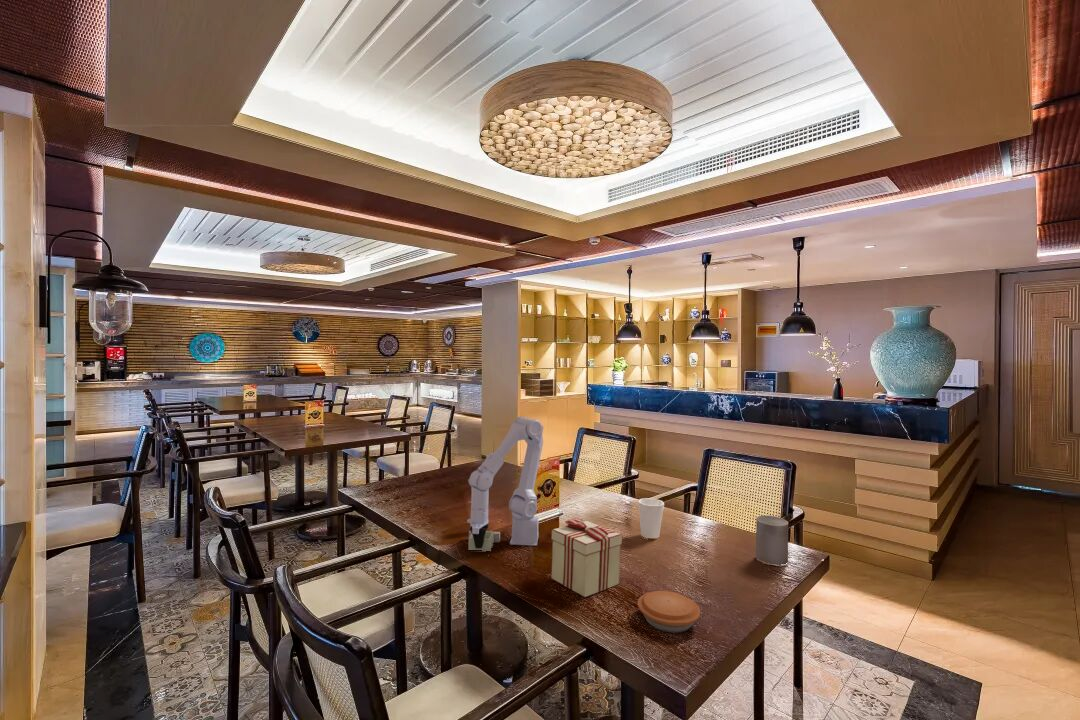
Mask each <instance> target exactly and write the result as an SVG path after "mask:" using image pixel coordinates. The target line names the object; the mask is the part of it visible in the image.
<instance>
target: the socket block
mask: <svg viewBox="0 0 1080 720" xmlns="http://www.w3.org/2000/svg"><path fill="white" fill-rule="evenodd" d="M487 531H488V530H486V533H485V537H484V542H483V546H482V548H475V543H474V538H473V535H472V534H471V535H470V537H469V536H468V546H467V547H468V550H482V551H481V552H486V551H490V552H491V551H492V549H491V548H493V546H494V544H495V542H494V532H495V531H493V532H487ZM493 543H494V544H493ZM468 550H467V551H468Z"/></svg>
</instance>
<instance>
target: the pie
mask: <svg viewBox="0 0 1080 720" xmlns="http://www.w3.org/2000/svg"><path fill="white" fill-rule="evenodd" d="M636 604H637V607H638V608H639V611H640V612H641V613H642V615H643V617H644V618H645V620H646V622H647V623H649V624H650V626H652V627H654V629H657V630H660V631H661V632H667V633H683V632H686V631H689V629H690V628H691V627H692V626H693V625H694V623H695V622H696V621H697V620H698V619H699V618H700V615H701V608H700V607H699V606H698V604H697V603H696V602H695V601H694V600H693V599H691V598H688V597H686V596H685V595H683V594H680V593H677V592H676V591H675V592H673V591H669V590H654V591H650V592H645V593H644V594H643V595H640V597H638V600H637V603H636Z"/></svg>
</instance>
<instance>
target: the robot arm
mask: <svg viewBox="0 0 1080 720" xmlns="http://www.w3.org/2000/svg"><path fill="white" fill-rule="evenodd" d="M509 428H510V429H509V430H508V432H507V434H506V435H505V437H504V439H503V440H502V442H501V443H500V445H499V446H498V448H497V449H496V450H495V451H493V452H490V453H489V454H487V455H486V456H485V459H484V461H483V462H482V463H481V465H479V466H478V468H477V469H476V470H474V471H473V472H471V474H470V476H469V478H468V479H467V481H468V484H469V486H470V487H471V488H470V489H471V496H470V497H471V499H470V500H471V502H470V503H471V504H470V509H471V510H470V518H468V519H467V520H466V521H467V523H468V524H470V523H471V527H469V531H471V533H472V535H473V538H474V543H475V548H482V546H483V542H484V537H485V533H486V531H488V528H489V522H490V519H489V491H490V488H491V487H492V485H493V481H494V478H495V476H496V474H497V473H498V471H499V470H500V469H501V468H502V466H503V465H504V463H505V462H504V458H505V457H506V455H508V453H509V452H510V451H511V450H512V448H513V447H514V446H516V444H517V443H518V442H519V441H522V440H524V441H525V443H526V444H527V445H526V450H525V456H524V460H523V465H522V469H521V470H522V471H521V473H520V479H519V484H518V487H517V488H516V489H515V490H513V493H512V496H511V498H510V499H509V502H508V508H509V510H510V511H511V515H512V525H511V526H512V528H511V531H512V532H511V539H510V541H509V545H514V546H515V545H517V546H535V547H536V546H538V540H539V538H540V537H539V535H540V534H539V533H540V532H539V517H538V516H536V514H537V512H538V504H537V502H538V497H537V494H536V493H535V485H536V480H537V476H538V470H539V465H540V460H541V456H542V451H543V445H544V436H543V432H544V426H543V424H542V422H540V420H539V419H534V418H528V417H525V416H518V417H516V418H515V420H514V421H513V423H512V424H511V425H510V427H509Z"/></svg>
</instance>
